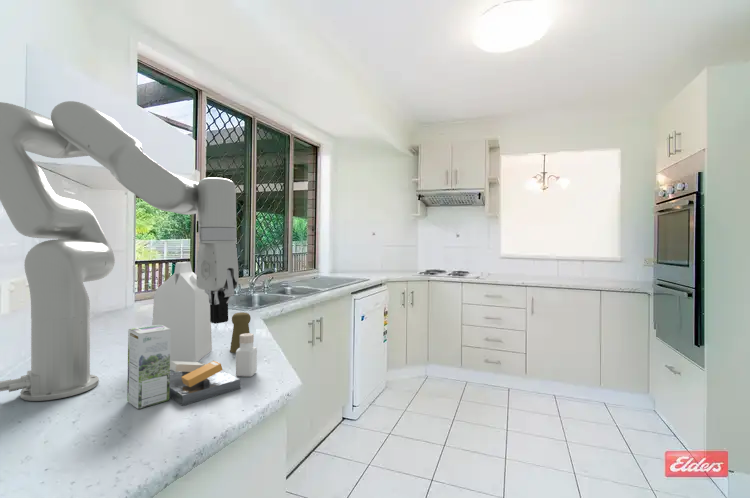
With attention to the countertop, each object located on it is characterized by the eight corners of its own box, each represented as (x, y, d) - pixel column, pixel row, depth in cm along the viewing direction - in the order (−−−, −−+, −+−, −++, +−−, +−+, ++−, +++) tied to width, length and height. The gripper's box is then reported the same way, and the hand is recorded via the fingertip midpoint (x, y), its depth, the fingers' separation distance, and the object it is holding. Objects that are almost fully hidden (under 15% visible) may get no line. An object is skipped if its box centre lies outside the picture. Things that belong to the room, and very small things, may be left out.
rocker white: (174, 371, 79) (176, 363, 79) (168, 368, 81) (170, 360, 81) (206, 372, 84) (208, 365, 84) (200, 369, 86) (202, 362, 86)
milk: (171, 350, 109) (171, 261, 109) (212, 350, 110) (212, 261, 110) (149, 363, 97) (150, 263, 97) (195, 363, 98) (196, 263, 98)
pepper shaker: (247, 353, 107) (247, 314, 107) (226, 353, 107) (226, 314, 107) (254, 347, 113) (254, 311, 113) (234, 347, 113) (235, 310, 113)
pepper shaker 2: (241, 371, 92) (241, 332, 91) (257, 371, 91) (257, 332, 91) (234, 377, 88) (235, 336, 87) (251, 377, 87) (252, 336, 87)
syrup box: (158, 393, 78) (158, 323, 78) (170, 401, 74) (171, 327, 74) (126, 402, 73) (127, 327, 73) (138, 410, 69) (138, 332, 69)
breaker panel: (182, 405, 72) (182, 390, 72) (154, 387, 81) (155, 374, 81) (240, 388, 81) (240, 374, 81) (209, 373, 90) (209, 361, 90)
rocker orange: (189, 387, 75) (187, 380, 74) (183, 383, 77) (181, 376, 77) (222, 369, 80) (220, 363, 80) (215, 366, 82) (213, 360, 82)
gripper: (184, 237, 82) (186, 320, 83) (217, 235, 73) (219, 330, 73) (217, 237, 88) (219, 315, 88) (252, 236, 78) (254, 323, 78)
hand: (219, 322), depth 80 cm, fingers closed
